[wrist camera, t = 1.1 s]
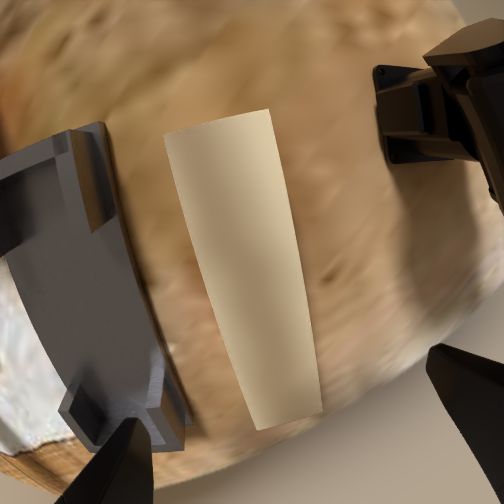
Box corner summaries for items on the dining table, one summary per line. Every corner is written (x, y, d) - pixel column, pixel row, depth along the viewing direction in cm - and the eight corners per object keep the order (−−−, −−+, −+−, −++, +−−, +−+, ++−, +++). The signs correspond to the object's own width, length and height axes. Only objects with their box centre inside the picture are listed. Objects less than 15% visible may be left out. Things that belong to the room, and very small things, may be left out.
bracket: (104, 122, 15) (77, 115, 11) (192, 415, 22) (193, 453, 18) (-8, 168, 14) (-44, 175, 10) (97, 422, 21) (88, 455, 18)
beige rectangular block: (248, 123, 16) (268, 108, 11) (297, 354, 22) (323, 411, 16) (178, 140, 16) (162, 134, 10) (244, 369, 21) (257, 430, 16)
